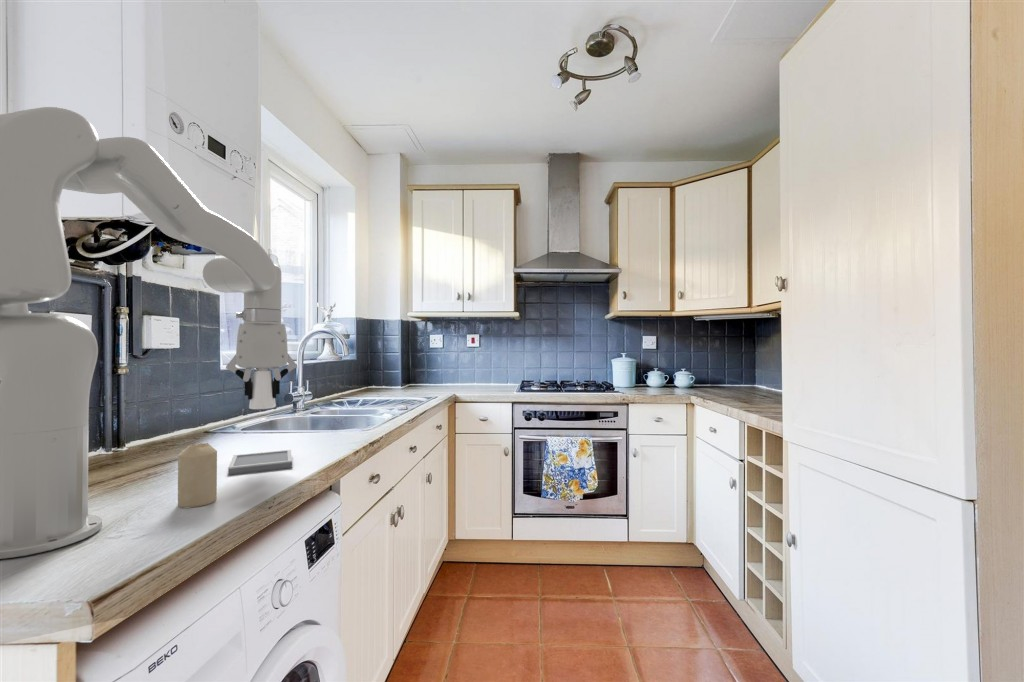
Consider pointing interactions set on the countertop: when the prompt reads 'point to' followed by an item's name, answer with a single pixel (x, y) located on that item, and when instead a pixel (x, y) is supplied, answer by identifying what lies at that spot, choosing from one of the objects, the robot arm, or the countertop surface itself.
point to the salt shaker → (262, 389)
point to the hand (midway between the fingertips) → (262, 397)
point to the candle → (197, 476)
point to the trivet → (260, 462)
